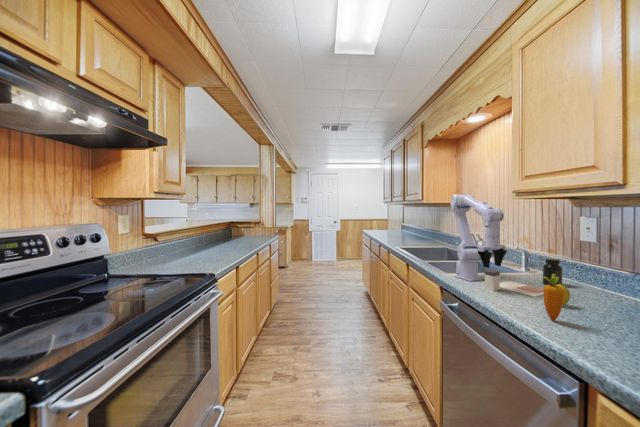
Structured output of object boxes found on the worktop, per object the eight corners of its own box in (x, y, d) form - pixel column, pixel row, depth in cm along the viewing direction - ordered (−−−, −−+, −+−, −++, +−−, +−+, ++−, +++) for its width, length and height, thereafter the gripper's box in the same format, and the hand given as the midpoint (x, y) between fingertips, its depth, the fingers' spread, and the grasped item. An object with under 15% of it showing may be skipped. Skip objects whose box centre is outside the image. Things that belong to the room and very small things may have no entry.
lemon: (574, 308, 96) (574, 286, 96) (558, 308, 96) (558, 286, 96) (560, 302, 101) (560, 281, 101) (545, 302, 102) (546, 281, 101)
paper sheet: (491, 285, 124) (491, 284, 124) (510, 281, 129) (510, 280, 129) (534, 297, 108) (534, 295, 108) (554, 292, 112) (554, 291, 112)
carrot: (556, 325, 82) (556, 277, 82) (539, 318, 87) (539, 273, 87) (567, 323, 84) (568, 275, 83) (549, 316, 89) (550, 272, 88)
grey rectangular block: (484, 288, 120) (484, 270, 119) (490, 287, 121) (490, 269, 121) (493, 290, 116) (493, 272, 116) (499, 289, 117) (499, 271, 117)
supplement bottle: (561, 284, 124) (561, 258, 124) (563, 288, 119) (563, 261, 119) (542, 282, 128) (542, 257, 128) (543, 285, 123) (543, 259, 123)
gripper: (489, 237, 112) (489, 270, 112) (512, 236, 117) (512, 266, 117) (474, 236, 118) (474, 266, 118) (496, 234, 123) (496, 263, 124)
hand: (492, 266), depth 118 cm, fingers open, 7 cm apart
